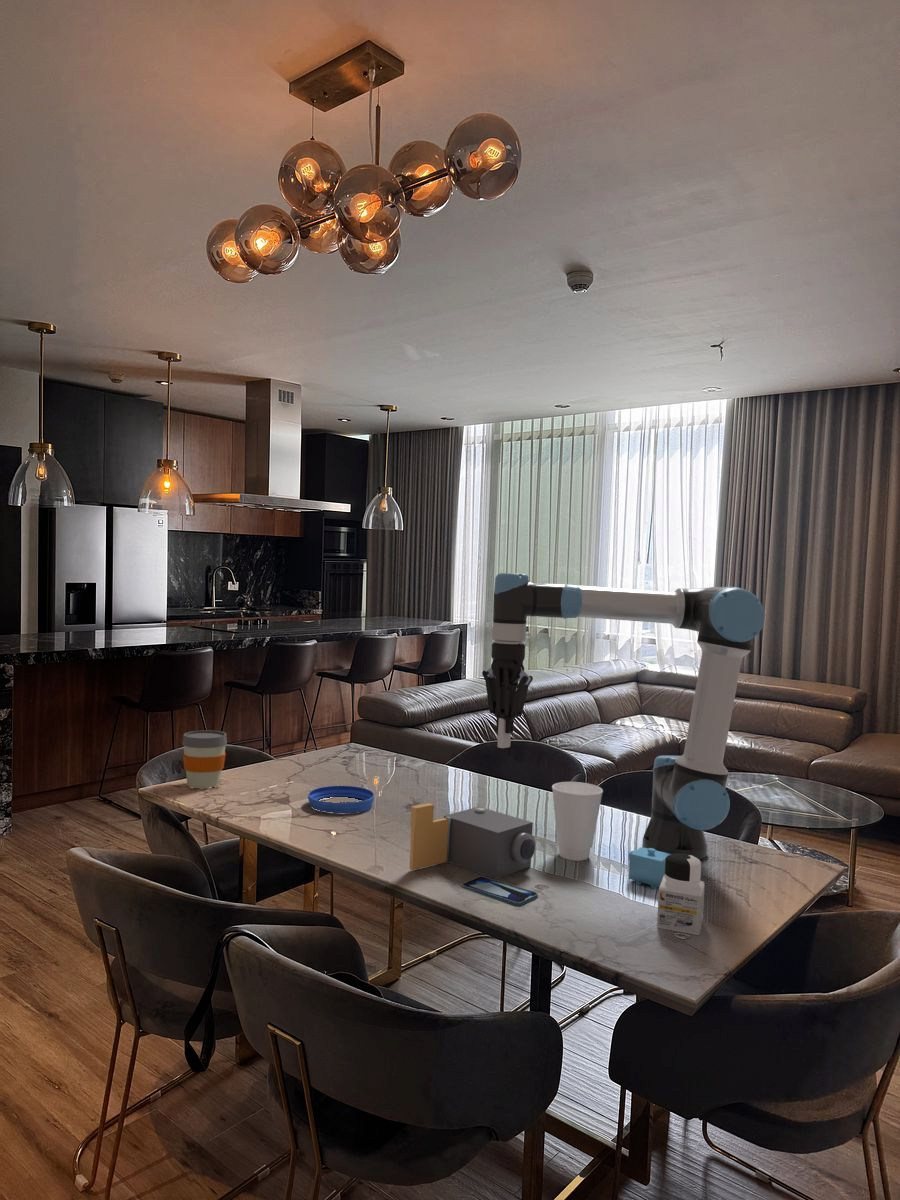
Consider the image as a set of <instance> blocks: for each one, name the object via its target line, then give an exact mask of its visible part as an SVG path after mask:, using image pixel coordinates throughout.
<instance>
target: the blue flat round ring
mask: <svg viewBox="0 0 900 1200" xmlns="http://www.w3.org/2000/svg"><path fill="white" fill-rule="evenodd" d="M330 797H348V798H355V799H358V800H362V801H359V802H346V803H345V802H343V803H342V802H340V803H332V802H323V800H321V801H319V800H320V799H323V798H330ZM307 799H308V802H309V807H310V806H311V807H313V808H314V809H317V810H320V811H326V812H333V813H355V814H358V813H357V812H361V813H364V812H367V811H369V810H370V809H371V808H372V807H373V804H374V803H373V802H374V800H375V793H374V792H373V791H372V790H370V789H368V788H364V787H360V786H353V785H329V786H322V787H318V788H315V789H312V790H310V791H309V792H308V795H307ZM311 807H310V808H311ZM363 811H364V812H363Z"/></svg>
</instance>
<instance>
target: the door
mask: <svg viewBox="0 0 900 1200" xmlns="http://www.w3.org/2000/svg"><path fill="white" fill-rule="evenodd" d="M434 807H435V805H434V804H432V803H430V802H428V803H422V804H416V805H412V806H411V808H410V827H411V829H410V849H409V850H410V851H409V870H410V871H416V870H420V869H423V868H424V869H425V868H427V867H431V866H436V865H439V864H443V863H446V864H448V863H450V862H449V843H450V820H451V817H445V818H444V817H443V818H439V819H435V820H434V812H435V811H434V810H435V809H434Z"/></svg>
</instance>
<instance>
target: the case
mask: <svg viewBox="0 0 900 1200" xmlns="http://www.w3.org/2000/svg"><path fill="white" fill-rule="evenodd" d="M445 817H451V820H450V843H449V862H448V863H450V864H454V865H456V866H458V867H461V868H464V869H467V870H470V871H473V872H476V873H478V874H480V875H484V876H485V877H486V876H487V878H490V879H493V880H498V879H501V878H504V877H507V876H509V875H512V874H514V873H515V874H516V873H517V872H520V871H522V870H525V869H529V868H531V867H532V866H531V864H532V858H533V856H534V854H535V851H536V839H535V836H534V835H533V827H534V826H533V823H534V822H532V821H529V820H526V819H524V818H523V819H522V818H519V817H516V816H513V815H508V814H505V813H502V812H499V811H495V810H492V809H489V808H485V807H481V806H476V807H472V808H468V809H464V810H459V811H457V812H453V813H450V814H449V813H448V814H445V815H444V816H443V818H445Z"/></svg>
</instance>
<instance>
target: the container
mask: <svg viewBox="0 0 900 1200" xmlns="http://www.w3.org/2000/svg"><path fill="white" fill-rule="evenodd" d="M701 873H702V862H701V860H699V859H698V858H696V857H694V856H692V855H689V854H683V853H674V854H671V855H668V856H667V857H666V859H665V875H664V876H663V879H662V882H661V884H660V887H658V897H657V898H658V899H657V917H656V918H657V919H656V926H657V928H658V929H663V930H668V931H674V932H679V933H684V934H688V935H689V934H690V935H695V936H699V935H700V934H701V930H702V925H703V924H702V923H703V918H704V916H703V915H704V901H705V899H704V898H705V881H702V880H701V875H702V874H701Z"/></svg>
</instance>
